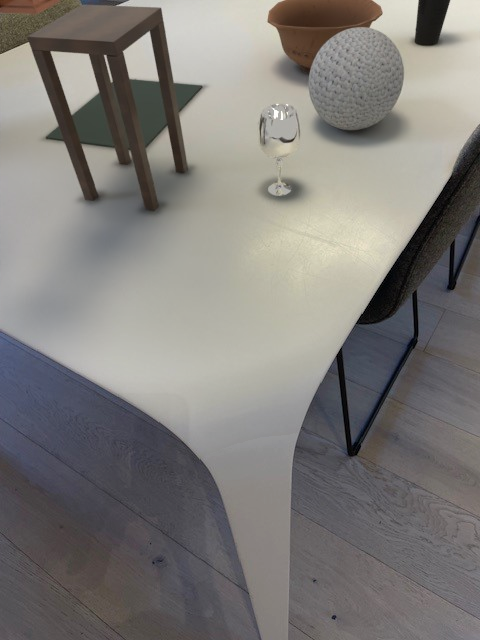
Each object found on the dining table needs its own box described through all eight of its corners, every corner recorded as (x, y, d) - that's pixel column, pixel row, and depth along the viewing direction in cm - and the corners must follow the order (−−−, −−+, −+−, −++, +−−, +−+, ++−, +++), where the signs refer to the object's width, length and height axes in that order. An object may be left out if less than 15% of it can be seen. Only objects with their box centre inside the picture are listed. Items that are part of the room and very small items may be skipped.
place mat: (46, 140, 90) (45, 136, 89) (117, 80, 106) (117, 77, 105) (142, 153, 84) (142, 149, 84) (202, 88, 100) (202, 85, 99)
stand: (85, 200, 75) (26, 36, 58) (123, 160, 83) (81, 4, 66) (154, 212, 72) (113, 42, 55) (188, 169, 79) (161, 7, 62)
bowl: (256, 87, 98) (253, 26, 90) (282, 46, 112) (282, -10, 104) (368, 94, 93) (375, 29, 85) (381, 49, 107) (389, -9, 98)
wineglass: (289, 176, 76) (289, 98, 67) (305, 195, 72) (308, 115, 63) (254, 185, 75) (250, 107, 66) (269, 205, 71) (267, 126, 62)
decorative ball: (410, 138, 81) (430, 39, 70) (322, 153, 80) (328, 54, 69) (375, 100, 91) (387, 8, 80) (297, 113, 90) (298, 21, 79)
